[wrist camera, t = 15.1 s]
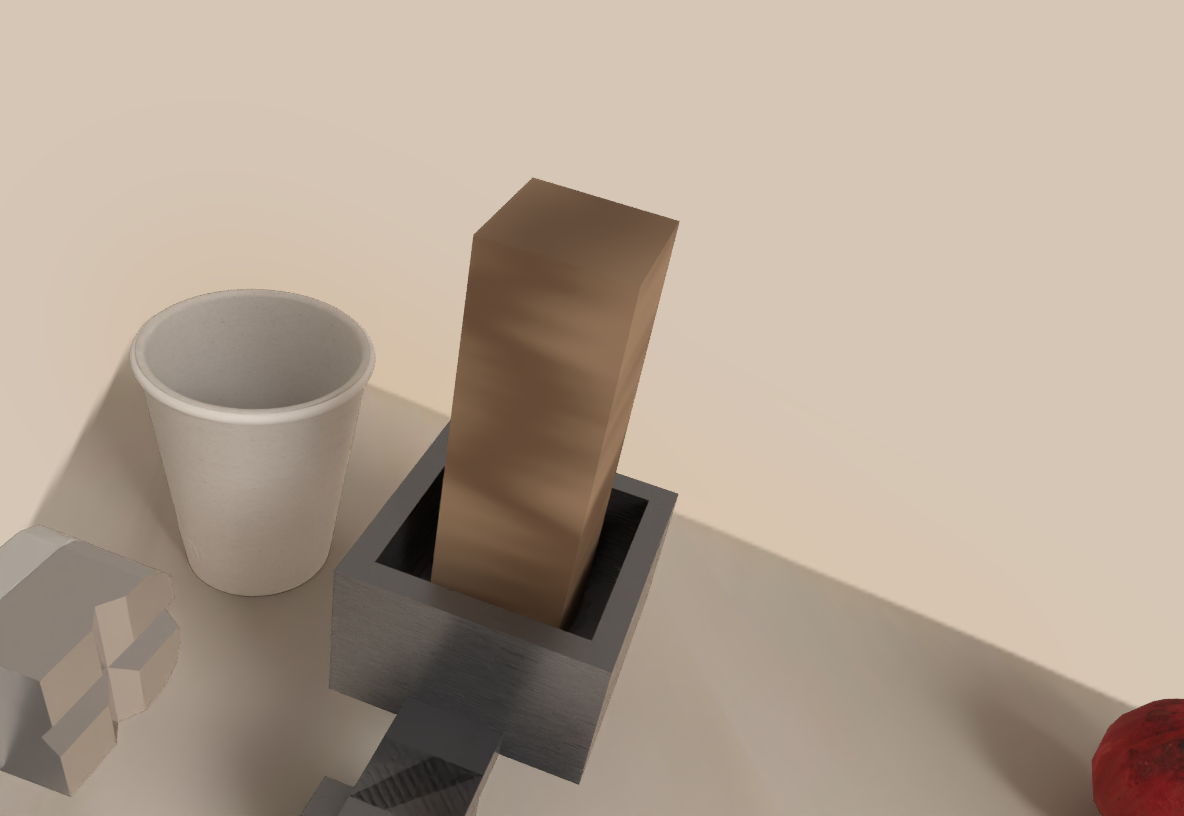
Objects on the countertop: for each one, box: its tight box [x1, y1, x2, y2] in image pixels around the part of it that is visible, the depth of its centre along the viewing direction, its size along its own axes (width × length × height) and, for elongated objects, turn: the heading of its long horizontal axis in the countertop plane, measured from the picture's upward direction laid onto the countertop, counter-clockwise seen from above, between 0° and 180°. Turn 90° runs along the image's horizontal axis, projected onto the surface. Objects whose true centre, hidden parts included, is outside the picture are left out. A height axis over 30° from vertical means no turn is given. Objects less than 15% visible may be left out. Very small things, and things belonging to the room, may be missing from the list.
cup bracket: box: [301, 420, 678, 816], centre depth 30 cm, size 8×14×10 cm, turn 163°
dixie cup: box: [130, 289, 375, 596], centre depth 38 cm, size 8×8×10 cm
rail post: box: [431, 178, 679, 632], centre depth 28 cm, size 4×4×14 cm
